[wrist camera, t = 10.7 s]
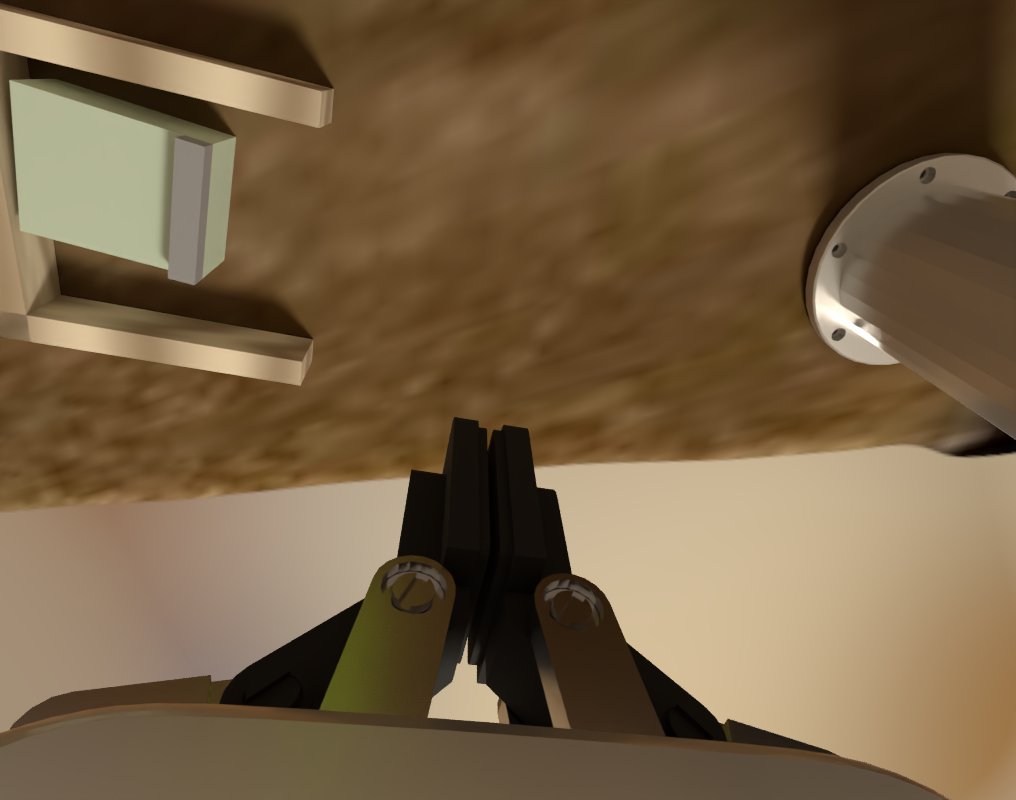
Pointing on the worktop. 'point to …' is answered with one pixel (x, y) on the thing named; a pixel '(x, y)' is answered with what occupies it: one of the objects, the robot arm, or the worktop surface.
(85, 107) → the pale green block
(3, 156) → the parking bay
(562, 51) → the worktop surface
